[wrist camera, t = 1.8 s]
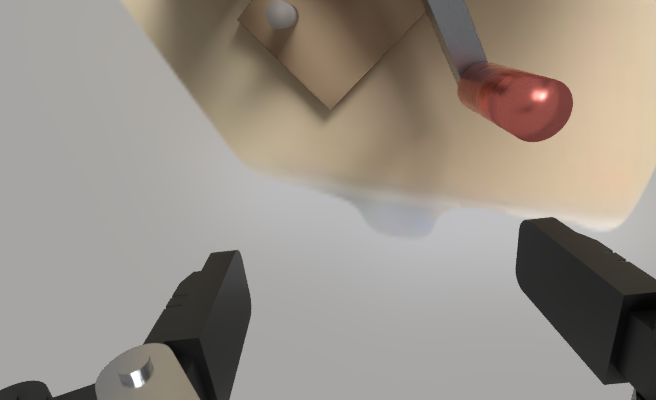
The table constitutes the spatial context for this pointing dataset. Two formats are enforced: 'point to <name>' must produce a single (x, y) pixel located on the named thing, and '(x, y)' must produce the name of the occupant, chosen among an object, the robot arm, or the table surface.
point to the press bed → (329, 37)
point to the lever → (497, 79)
